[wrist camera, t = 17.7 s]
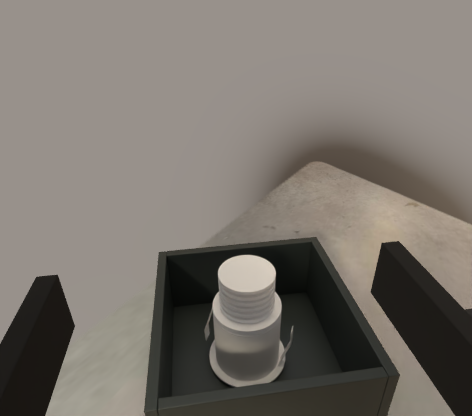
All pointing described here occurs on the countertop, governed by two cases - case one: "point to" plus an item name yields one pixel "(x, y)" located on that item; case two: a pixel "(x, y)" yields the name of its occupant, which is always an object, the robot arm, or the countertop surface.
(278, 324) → the downlight
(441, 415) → the countertop surface
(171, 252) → the dark grey open box
